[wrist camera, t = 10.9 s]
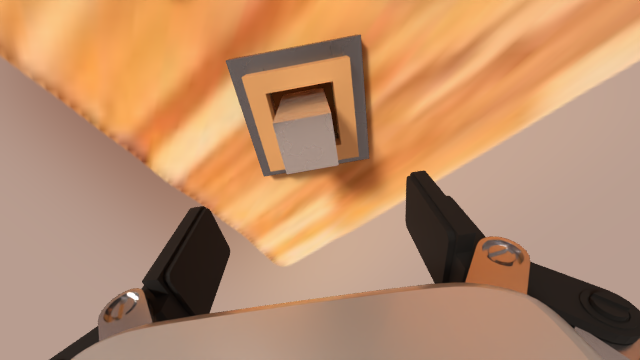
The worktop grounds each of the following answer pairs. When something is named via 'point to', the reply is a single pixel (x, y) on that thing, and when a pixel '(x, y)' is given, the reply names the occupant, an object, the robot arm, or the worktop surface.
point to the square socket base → (299, 71)
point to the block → (305, 131)
